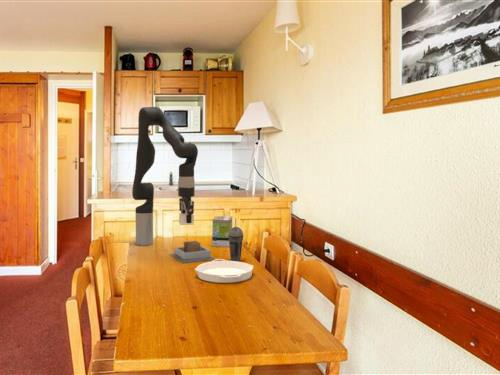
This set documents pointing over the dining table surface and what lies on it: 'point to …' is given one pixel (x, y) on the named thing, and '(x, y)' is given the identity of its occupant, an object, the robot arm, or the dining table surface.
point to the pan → (224, 271)
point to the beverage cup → (235, 243)
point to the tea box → (221, 231)
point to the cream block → (183, 219)
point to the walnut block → (191, 246)
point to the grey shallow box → (192, 255)
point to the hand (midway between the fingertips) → (186, 221)
